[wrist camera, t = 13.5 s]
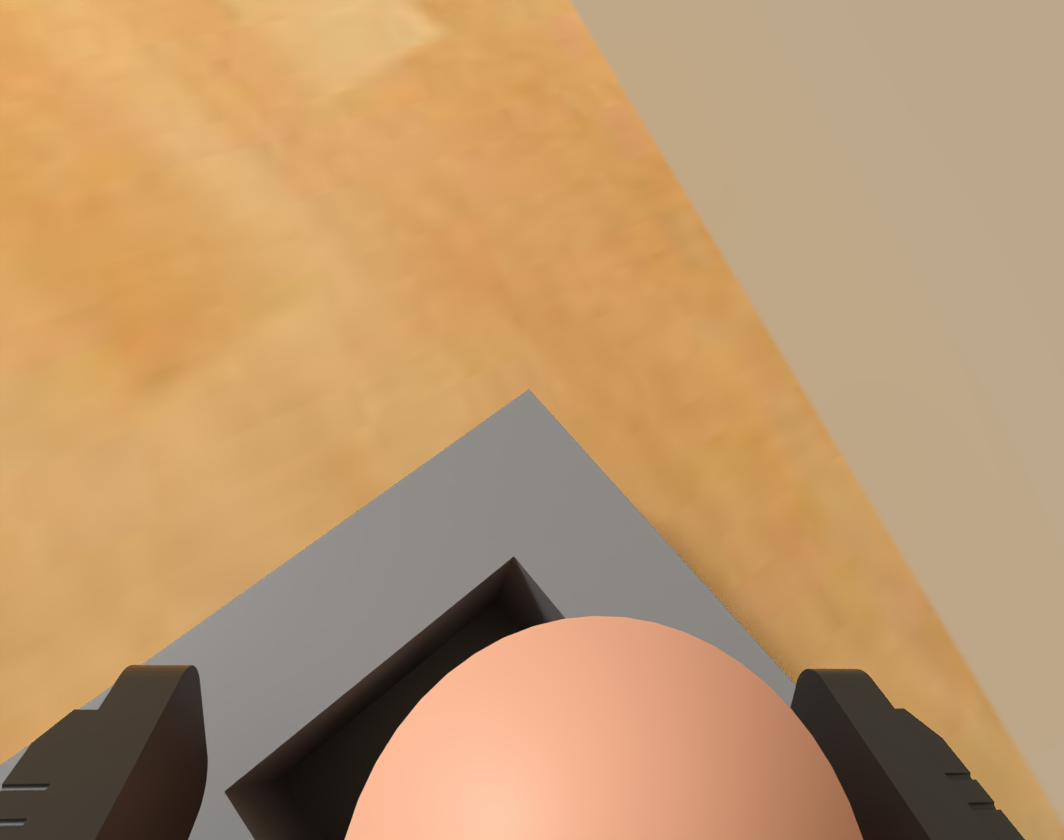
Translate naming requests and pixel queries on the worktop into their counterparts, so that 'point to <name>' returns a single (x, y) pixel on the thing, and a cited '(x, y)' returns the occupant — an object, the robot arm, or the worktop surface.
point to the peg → (602, 747)
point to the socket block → (419, 618)
